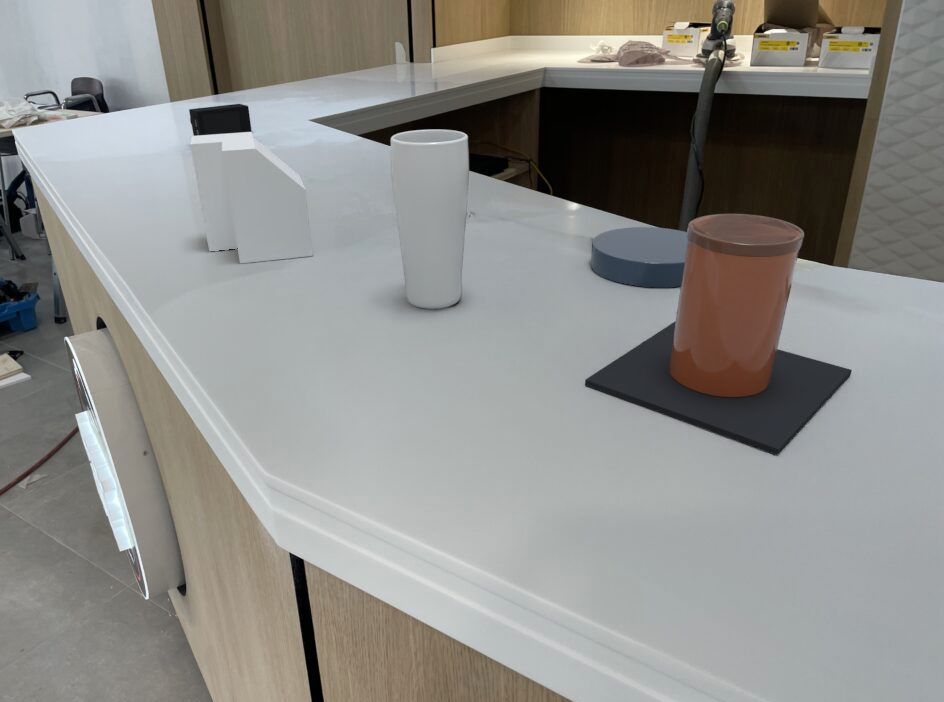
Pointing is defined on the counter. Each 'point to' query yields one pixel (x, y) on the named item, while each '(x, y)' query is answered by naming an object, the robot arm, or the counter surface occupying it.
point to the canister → (733, 302)
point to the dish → (640, 256)
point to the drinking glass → (431, 212)
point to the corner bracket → (250, 199)
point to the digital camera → (220, 119)
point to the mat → (740, 418)
